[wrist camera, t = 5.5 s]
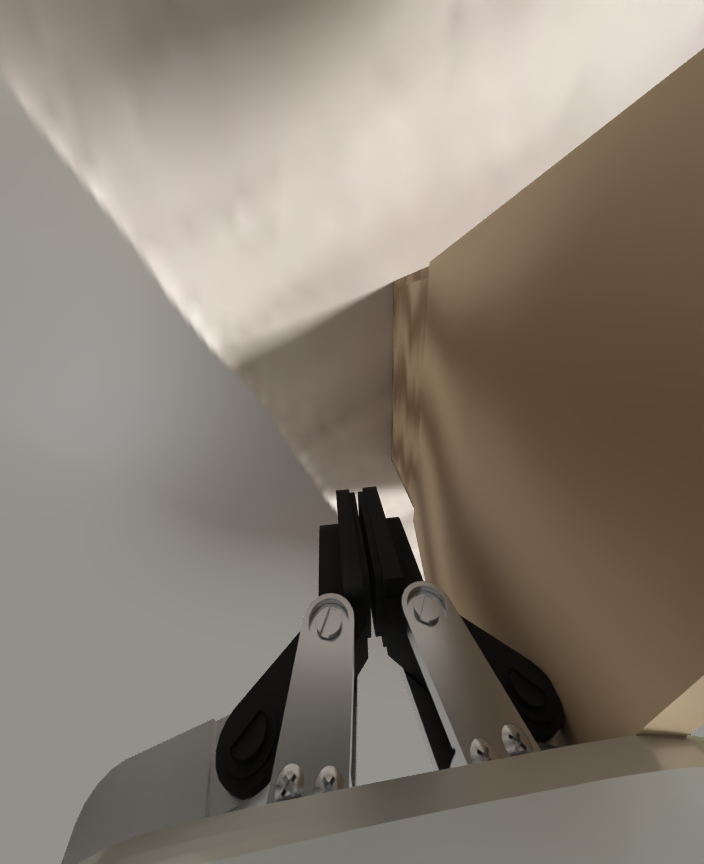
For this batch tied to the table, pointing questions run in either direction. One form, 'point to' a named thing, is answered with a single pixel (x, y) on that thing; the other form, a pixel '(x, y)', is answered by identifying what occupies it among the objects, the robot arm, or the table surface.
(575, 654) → the box lid
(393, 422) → the wooden box
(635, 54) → the table surface
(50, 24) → the table surface
